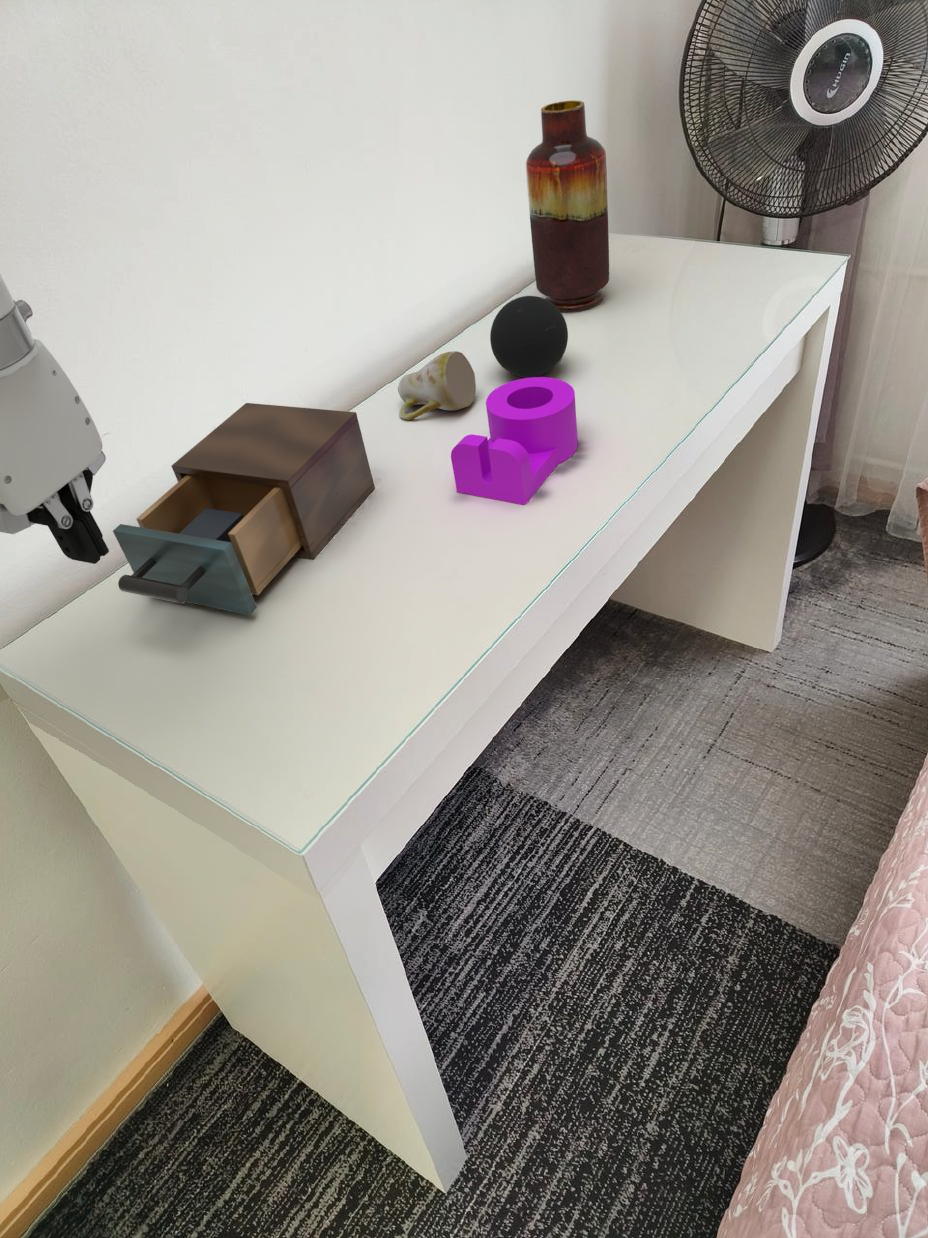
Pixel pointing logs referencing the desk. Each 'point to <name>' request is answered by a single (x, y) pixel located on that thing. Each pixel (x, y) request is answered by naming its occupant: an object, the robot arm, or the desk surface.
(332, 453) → the cabinet
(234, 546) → the drawer
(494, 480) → the tape dispenser
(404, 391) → the mug
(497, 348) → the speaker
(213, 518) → the block
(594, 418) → the desk surface
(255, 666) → the desk surface
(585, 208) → the vase
